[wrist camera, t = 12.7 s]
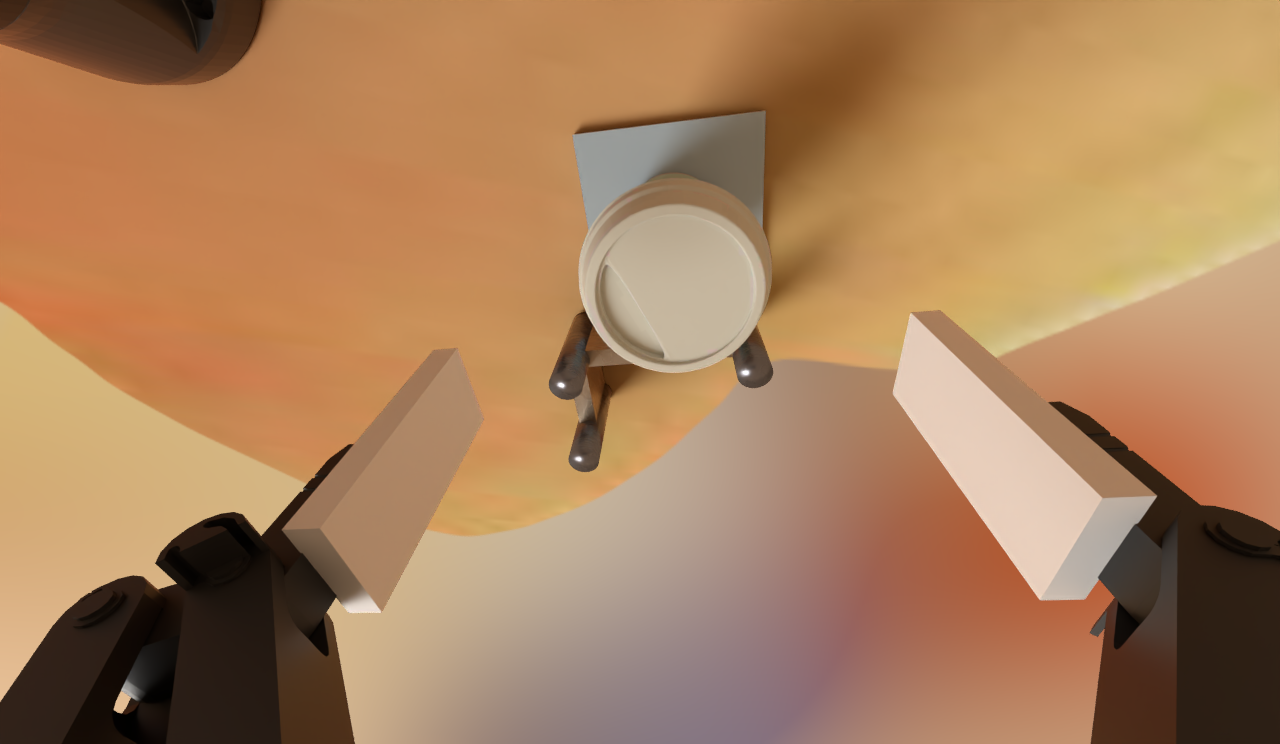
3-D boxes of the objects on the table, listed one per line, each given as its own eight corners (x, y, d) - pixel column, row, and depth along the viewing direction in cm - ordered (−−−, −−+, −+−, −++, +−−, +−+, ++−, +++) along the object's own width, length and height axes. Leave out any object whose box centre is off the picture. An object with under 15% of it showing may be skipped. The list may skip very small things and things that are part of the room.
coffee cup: (605, 142, 27) (567, 180, 17) (752, 151, 27) (803, 194, 17) (604, 281, 31) (574, 377, 21) (729, 289, 31) (759, 389, 21)
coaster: (574, 133, 27) (572, 134, 27) (763, 110, 26) (765, 110, 26) (602, 304, 33) (601, 308, 32) (759, 291, 32) (760, 295, 31)
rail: (570, 313, 34) (545, 372, 27) (751, 298, 32) (773, 356, 25) (589, 402, 38) (571, 472, 31) (750, 392, 36) (768, 463, 30)
